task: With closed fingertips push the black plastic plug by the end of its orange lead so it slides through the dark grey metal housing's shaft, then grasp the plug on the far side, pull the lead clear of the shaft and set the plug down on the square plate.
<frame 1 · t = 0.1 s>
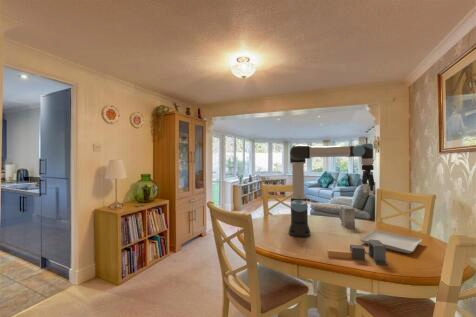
hand: (368, 193, 165), 28 cm above the table, fingers open, 13 cm apart
square plate: (391, 245, 141), on the table
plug: (357, 257, 122), on the table
circuit breaker: (346, 225, 183), on the table
housing: (376, 259, 120), on the table
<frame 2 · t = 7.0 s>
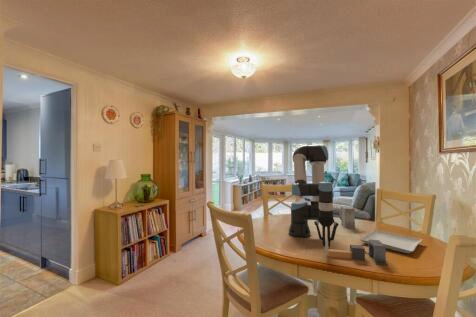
hand: (326, 252, 126), 2 cm above the table, fingers closed
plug: (357, 257, 122), on the table, touching gripper
everything else where it was.
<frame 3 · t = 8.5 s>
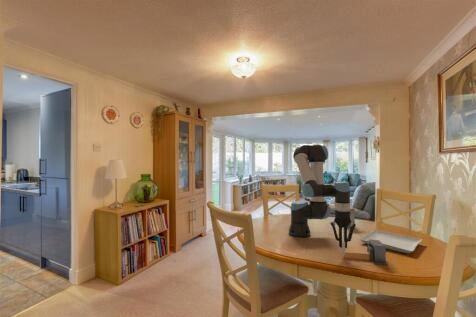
hand: (343, 253, 124), 2 cm above the table, fingers closed
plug: (375, 259, 120), on the table, touching gripper
everything else where it was.
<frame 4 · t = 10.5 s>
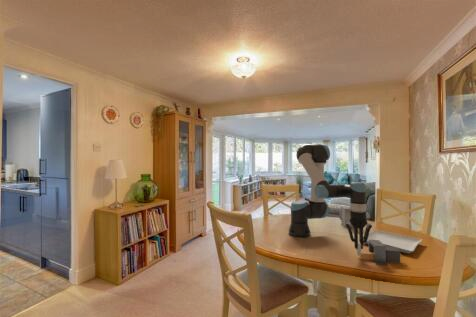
hand: (358, 254, 122), 2 cm above the table, fingers closed
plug: (391, 260, 118), on the table, touching gripper
everything else where it was.
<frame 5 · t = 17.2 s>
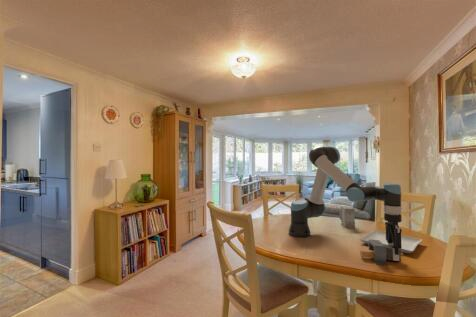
hand: (393, 257, 118), 1 cm above the table, fingers closed on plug, 5 cm apart
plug: (392, 258, 118), point 1 cm above the table, touching gripper
everything else where it was.
when the fingers open (4 cm above the table, at t = 24.5 s): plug stays where it is, resting on square plate.
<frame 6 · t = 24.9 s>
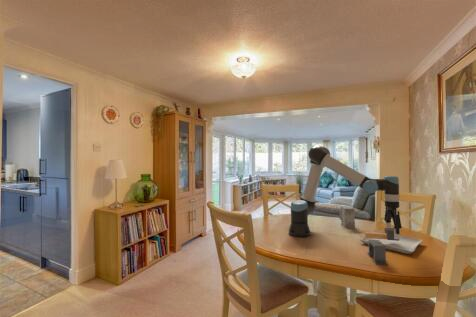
hand: (392, 235, 141), 5 cm above the table, fingers open, 11 cm apart
square plate: (391, 245, 142), on the table, touching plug
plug: (391, 238, 141), point 3 cm above the table, touching square plate
everything else where it was.
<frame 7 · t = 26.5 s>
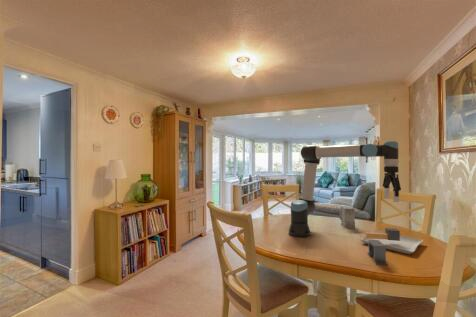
hand: (391, 199, 142), 27 cm above the table, fingers open, 13 cm apart
nothing on the table moved.
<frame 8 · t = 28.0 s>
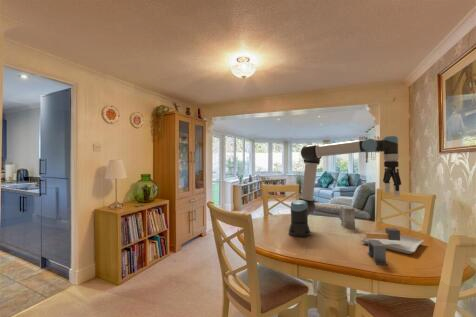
hand: (391, 194, 142), 31 cm above the table, fingers open, 13 cm apart
nothing on the table moved.
at the end: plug inside the target area on the square plate (0.3 cm from its centre), point 4.1 cm above the square plate's base; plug tilted 0°; the gripper is holding nothing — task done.
